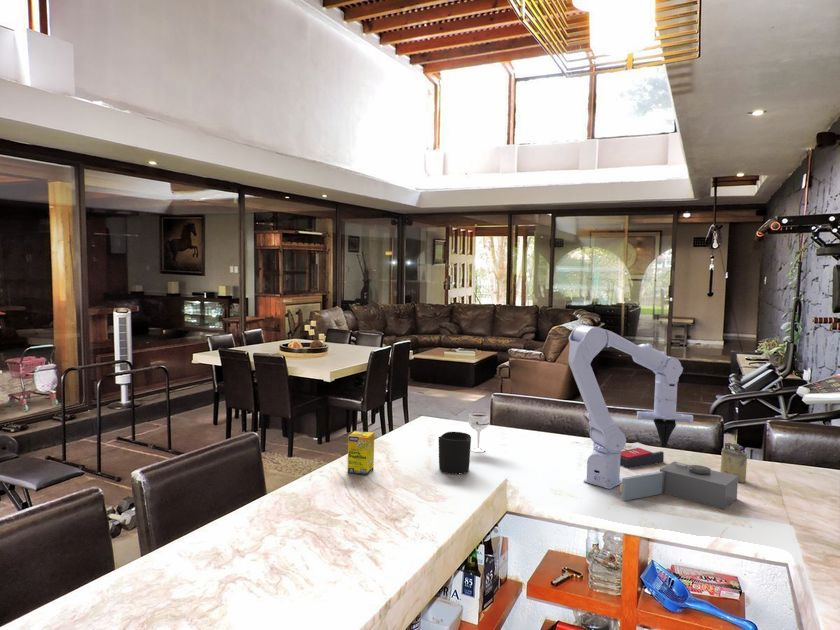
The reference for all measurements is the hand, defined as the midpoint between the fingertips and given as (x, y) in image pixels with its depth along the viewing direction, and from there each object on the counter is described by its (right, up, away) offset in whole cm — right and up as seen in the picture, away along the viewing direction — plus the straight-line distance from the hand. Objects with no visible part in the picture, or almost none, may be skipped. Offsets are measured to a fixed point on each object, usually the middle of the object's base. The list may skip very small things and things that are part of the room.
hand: (663, 446), depth 160 cm
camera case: (+4, -10, -12) cm, 16 cm away
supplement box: (-86, -8, +2) cm, 86 cm away
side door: (-11, -10, -14) cm, 20 cm away
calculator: (-2, -9, +17) cm, 20 cm away
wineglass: (-50, -7, +24) cm, 56 cm away
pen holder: (-59, -8, +5) cm, 60 cm away
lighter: (+20, -10, +2) cm, 23 cm away
